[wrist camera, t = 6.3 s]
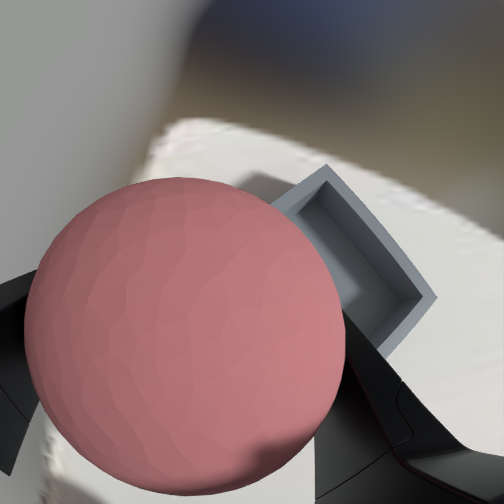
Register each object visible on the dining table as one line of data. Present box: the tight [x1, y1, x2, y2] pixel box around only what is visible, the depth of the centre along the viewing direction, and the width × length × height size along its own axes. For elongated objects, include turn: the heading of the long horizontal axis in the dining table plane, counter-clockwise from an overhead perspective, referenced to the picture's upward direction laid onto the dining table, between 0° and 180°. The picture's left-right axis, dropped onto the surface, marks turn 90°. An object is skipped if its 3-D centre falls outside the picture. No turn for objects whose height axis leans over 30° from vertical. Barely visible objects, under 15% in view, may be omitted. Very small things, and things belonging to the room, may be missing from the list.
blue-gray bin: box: [270, 164, 437, 359], centre depth 21 cm, size 13×13×4 cm
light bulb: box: [24, 177, 345, 496], centre depth 9 cm, size 7×7×12 cm
